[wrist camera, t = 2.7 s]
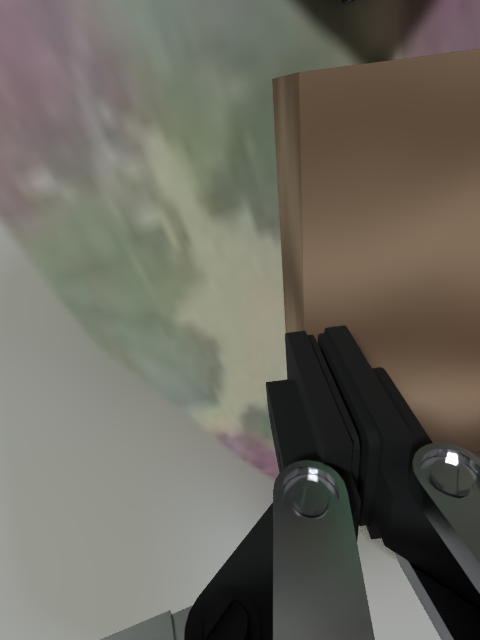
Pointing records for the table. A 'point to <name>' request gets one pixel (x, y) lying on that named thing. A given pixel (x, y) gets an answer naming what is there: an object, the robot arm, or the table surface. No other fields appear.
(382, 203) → the board
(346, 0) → the disk drive
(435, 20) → the table surface
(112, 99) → the table surface
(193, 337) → the table surface
